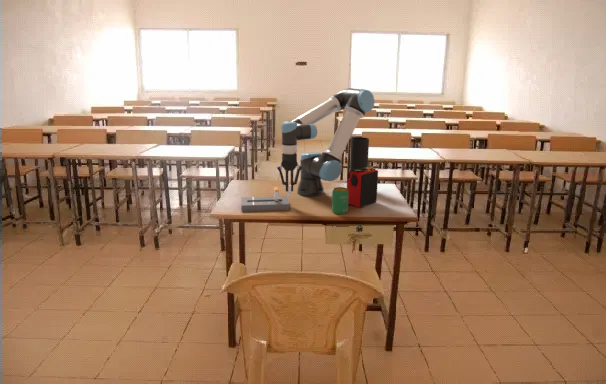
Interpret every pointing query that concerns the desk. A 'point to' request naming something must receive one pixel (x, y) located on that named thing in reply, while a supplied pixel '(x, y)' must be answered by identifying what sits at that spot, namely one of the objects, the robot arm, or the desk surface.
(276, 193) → the fader
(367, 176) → the radio
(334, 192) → the beverage can
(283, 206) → the console
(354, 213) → the desk surface
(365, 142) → the vase
